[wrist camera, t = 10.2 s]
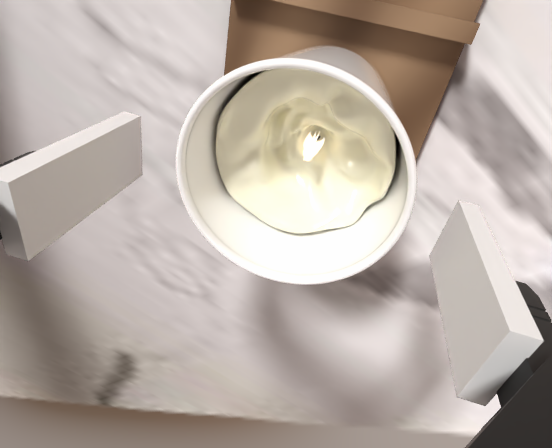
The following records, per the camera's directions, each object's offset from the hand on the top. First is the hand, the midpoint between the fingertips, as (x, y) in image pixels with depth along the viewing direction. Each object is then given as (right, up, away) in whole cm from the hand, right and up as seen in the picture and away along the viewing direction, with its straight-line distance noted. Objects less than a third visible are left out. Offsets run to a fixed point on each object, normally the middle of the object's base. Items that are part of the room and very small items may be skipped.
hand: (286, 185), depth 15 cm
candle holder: (+3, +6, +10) cm, 12 cm away
